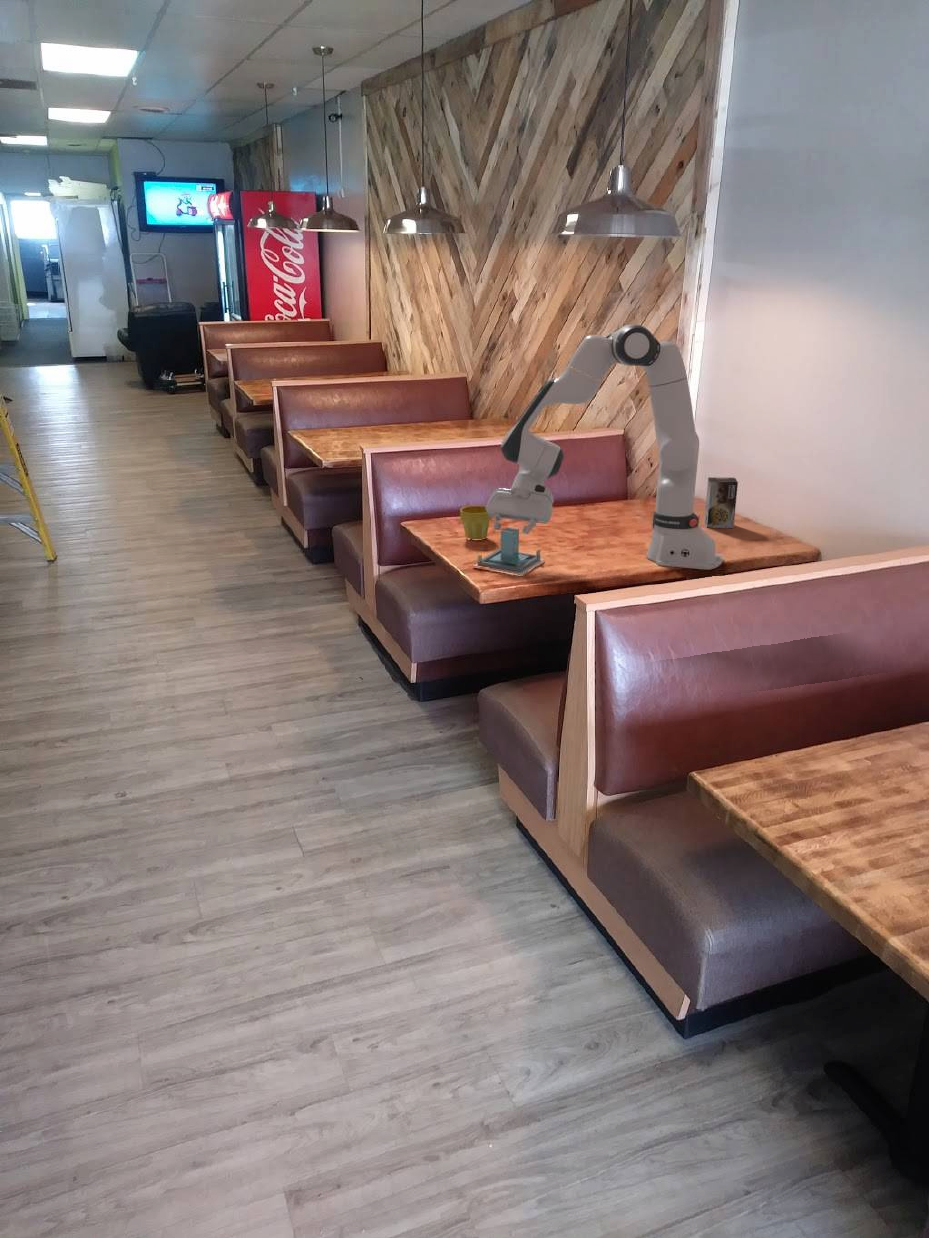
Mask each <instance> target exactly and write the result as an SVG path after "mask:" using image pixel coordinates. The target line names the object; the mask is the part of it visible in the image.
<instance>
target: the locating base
mask: <svg viewBox="0 0 929 1238" xmlns="http://www.w3.org/2000/svg"><path fill="white" fill-rule="evenodd" d="M535 550H536V552H535V554H531V553H525V552H519V554H521V555H527V556H530V561H528V562H526V563H525V564H523V565H522V566H520V567H513V566H507V565H501V564H495V563H489V560H490V559H491V558H493V557H495V556H496V555H498V554H500V553H501V548H498V549H497V550H496V551H494V552H491V553H490V554H488V555H487V556H485V557H484V558H482V557H483V555H482V554H477V563H476V564H474V565H473V566H483V567H489V568H490V569H492V570H498V571H503V572H508V573H513V574H517V575H521V576H522V575H524V574H525V573H526V572H528V571H529V570H530V569H532V568H533V567H535V566H537V565H538V564H540V563H541V562H543V561H544V560H545V561H546V559H545V558H541V549H540V548H537V549H535ZM524 576H525V575H524Z"/></svg>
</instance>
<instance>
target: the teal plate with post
mask: <svg viewBox="0 0 929 1238" xmlns="http://www.w3.org/2000/svg"><path fill="white" fill-rule="evenodd" d="M519 539H520V529H518V528H513V527H506V528H503V529H502V530H501V531H500V550H501V553H500V554H498V555H496V556H495V557H493V558H491V559H490V560H489V563H495V564H501V565H507V566H513V567H520V566H522V565H523V564H525V563H526V562H528V561H530V556H527V555H521V554H519V553H520V547H519V546H520V540H519Z"/></svg>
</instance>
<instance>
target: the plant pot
mask: <svg viewBox="0 0 929 1238" xmlns="http://www.w3.org/2000/svg"><path fill="white" fill-rule="evenodd" d="M485 508H486V506H485V505H468V506H463V507H461V508H460V510H459V518H460V521H461V522H462V525H463V529H464V533H465V534H464V535H465V538H466V537H467V538H470V539H483V538H486V537H488V532H489V528H490V522H491V520H492V518H493V517H491V516H489V515H488V513H487V512H486V509H485ZM467 538H466V539H467ZM486 539H487V538H486Z"/></svg>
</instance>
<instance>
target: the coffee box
mask: <svg viewBox="0 0 929 1238" xmlns="http://www.w3.org/2000/svg"><path fill="white" fill-rule="evenodd" d="M738 485H739V482H738V480H737V478H736V477H707V487H706V490H707V491H706V500H705V510H704V511H705V512H704V522H703V523H704V525H705V528H707V527H710V528H709V529H734V527H735V517H736V506H737V494H738Z"/></svg>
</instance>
